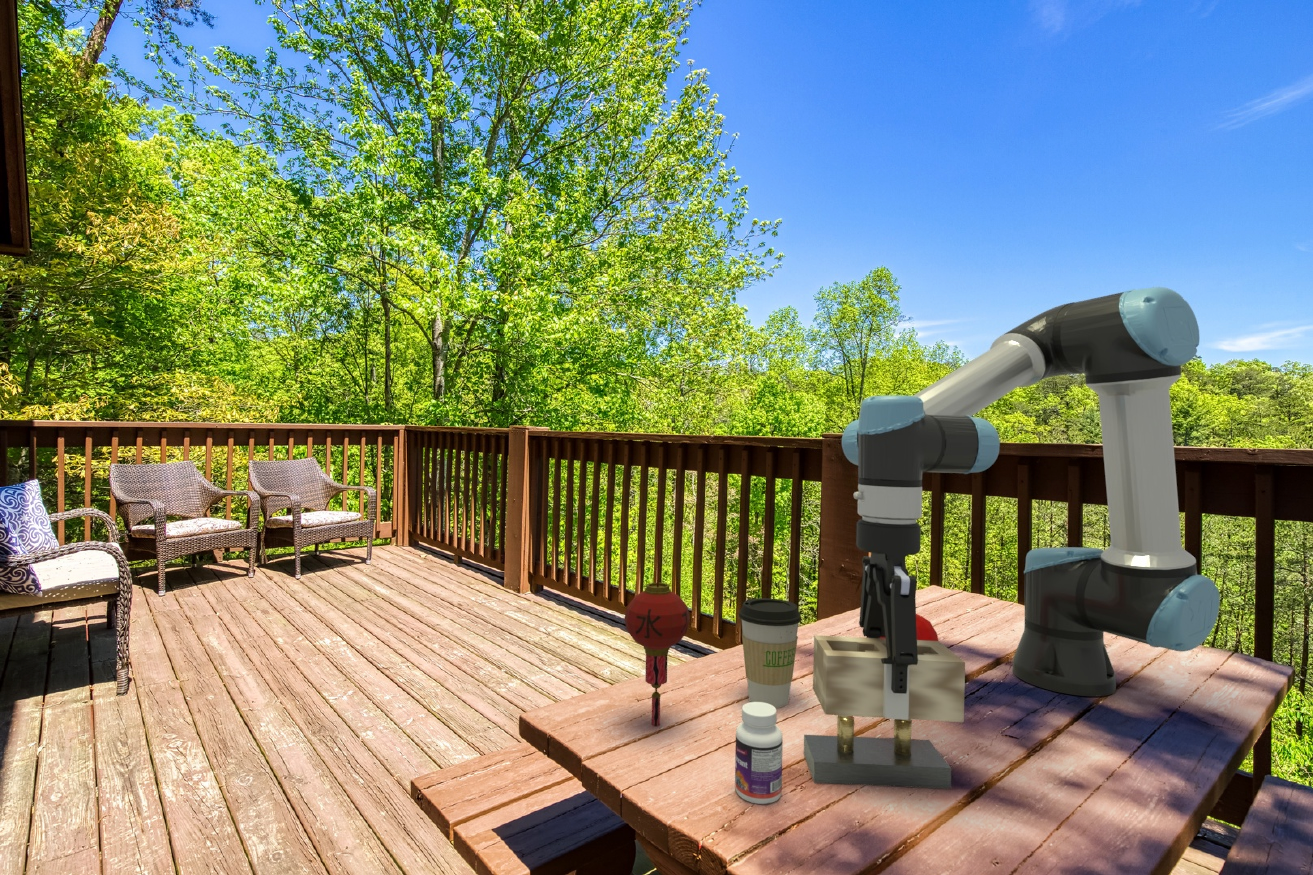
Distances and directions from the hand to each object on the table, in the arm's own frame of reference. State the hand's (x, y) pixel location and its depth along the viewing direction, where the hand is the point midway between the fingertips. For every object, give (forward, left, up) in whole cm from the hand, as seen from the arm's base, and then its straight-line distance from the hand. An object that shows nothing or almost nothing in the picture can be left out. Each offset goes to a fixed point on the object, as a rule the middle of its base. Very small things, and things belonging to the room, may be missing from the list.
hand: (884, 702), depth 78 cm
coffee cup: (+12, -21, -9) cm, 25 cm away
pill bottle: (+16, +6, -9) cm, 19 cm away
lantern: (+29, -10, -9) cm, 32 cm away
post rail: (+1, 0, -9) cm, 9 cm away
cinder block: (0, 0, 0) cm, 0 cm away
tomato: (-12, -29, -9) cm, 32 cm away
